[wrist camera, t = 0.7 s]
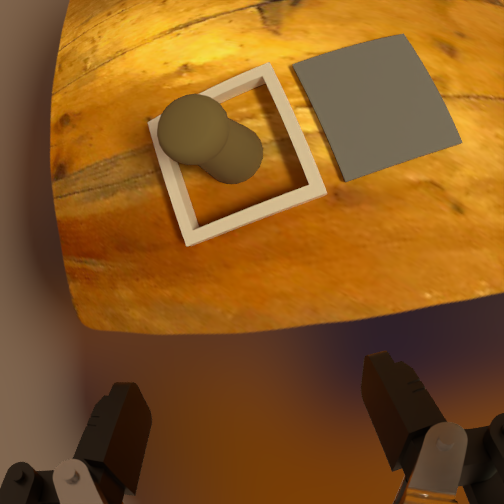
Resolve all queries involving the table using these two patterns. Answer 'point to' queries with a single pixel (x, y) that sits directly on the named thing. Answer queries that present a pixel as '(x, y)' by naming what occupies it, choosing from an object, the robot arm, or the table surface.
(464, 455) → the robot arm
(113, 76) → the table surface
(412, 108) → the mat
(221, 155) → the cork
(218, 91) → the white square frame
